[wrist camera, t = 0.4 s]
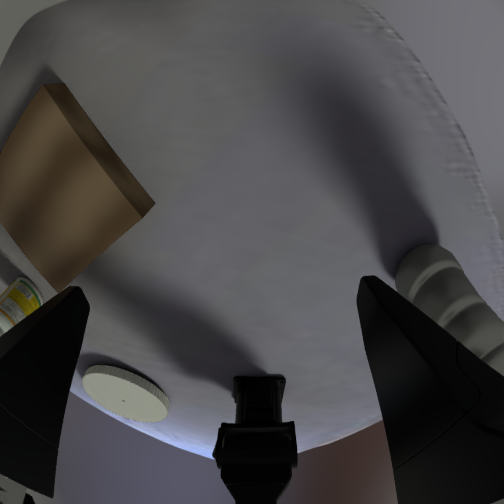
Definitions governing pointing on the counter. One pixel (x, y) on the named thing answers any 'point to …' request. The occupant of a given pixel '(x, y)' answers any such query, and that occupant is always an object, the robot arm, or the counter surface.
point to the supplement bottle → (18, 303)
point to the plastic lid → (125, 393)
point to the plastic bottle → (451, 301)
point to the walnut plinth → (64, 187)
